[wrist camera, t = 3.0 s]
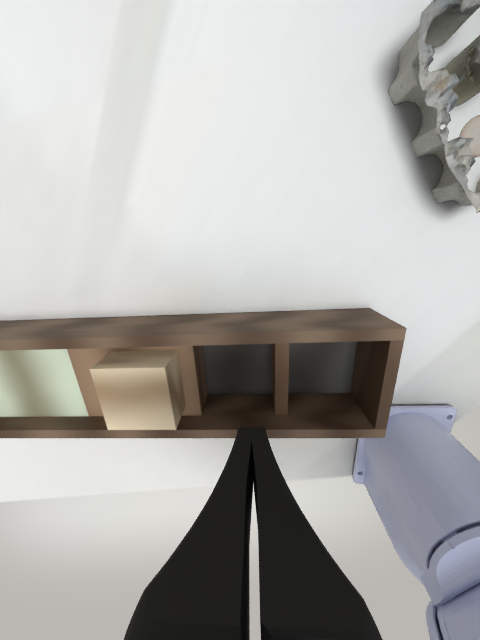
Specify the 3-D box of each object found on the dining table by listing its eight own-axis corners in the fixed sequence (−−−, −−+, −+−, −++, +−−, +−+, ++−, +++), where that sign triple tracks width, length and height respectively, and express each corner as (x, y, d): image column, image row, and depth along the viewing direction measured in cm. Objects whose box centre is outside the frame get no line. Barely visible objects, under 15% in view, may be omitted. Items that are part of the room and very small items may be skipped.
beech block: (185, 405, 18) (176, 429, 16) (126, 406, 19) (107, 429, 16) (177, 349, 17) (164, 367, 14) (112, 351, 17) (89, 368, 15)
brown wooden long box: (369, 308, 18) (406, 328, 14) (357, 398, 21) (384, 438, 16) (-8, 321, 20) (-79, 342, 16) (26, 401, 23) (-26, 438, 18)
